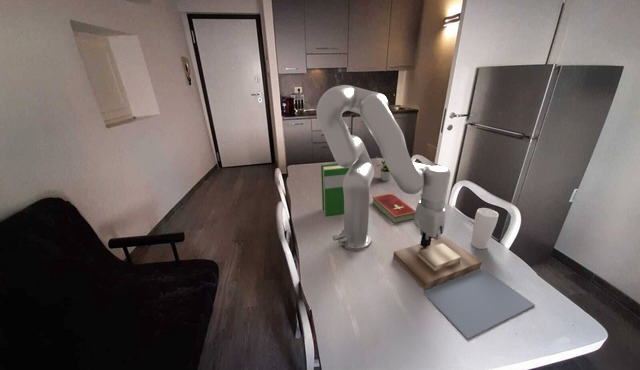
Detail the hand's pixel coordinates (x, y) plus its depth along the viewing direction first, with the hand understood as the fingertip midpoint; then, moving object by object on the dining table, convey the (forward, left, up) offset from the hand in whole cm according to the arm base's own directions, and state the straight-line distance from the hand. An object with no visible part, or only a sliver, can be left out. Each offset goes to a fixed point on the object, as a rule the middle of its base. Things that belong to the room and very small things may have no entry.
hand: (425, 245), depth 91 cm
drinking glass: (+22, -5, -4) cm, 23 cm away
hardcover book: (+9, +31, -4) cm, 33 cm away
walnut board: (0, -6, -4) cm, 7 cm away
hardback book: (-15, +41, -4) cm, 44 cm away
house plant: (+27, +66, -4) cm, 72 cm away
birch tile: (0, -7, -1) cm, 7 cm away
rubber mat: (0, -22, -4) cm, 23 cm away
